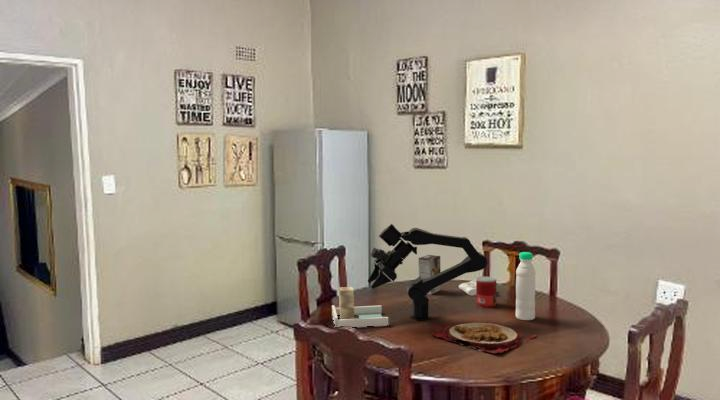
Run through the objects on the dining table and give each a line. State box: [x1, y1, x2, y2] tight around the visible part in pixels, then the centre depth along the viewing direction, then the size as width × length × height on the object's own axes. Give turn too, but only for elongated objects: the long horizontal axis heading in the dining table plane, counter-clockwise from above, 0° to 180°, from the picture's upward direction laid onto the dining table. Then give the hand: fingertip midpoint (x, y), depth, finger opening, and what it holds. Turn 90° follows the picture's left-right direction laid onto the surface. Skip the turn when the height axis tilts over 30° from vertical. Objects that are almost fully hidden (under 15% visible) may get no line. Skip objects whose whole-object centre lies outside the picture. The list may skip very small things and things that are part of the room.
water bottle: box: [515, 251, 536, 321], centre depth 200 cm, size 7×7×25 cm
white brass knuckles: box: [458, 279, 476, 297], centre depth 240 cm, size 3×18×15 cm
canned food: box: [475, 276, 497, 308], centre depth 219 cm, size 8×8×11 cm
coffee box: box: [418, 254, 442, 295], centre depth 241 cm, size 9×6×16 cm
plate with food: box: [431, 321, 536, 354], centre depth 182 cm, size 25×26×4 cm
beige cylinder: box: [338, 286, 355, 320], centre depth 201 cm, size 5×5×12 cm
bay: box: [331, 305, 389, 328], centre depth 202 cm, size 20×16×4 cm
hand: (370, 284), depth 201 cm, fingers open, 9 cm apart
